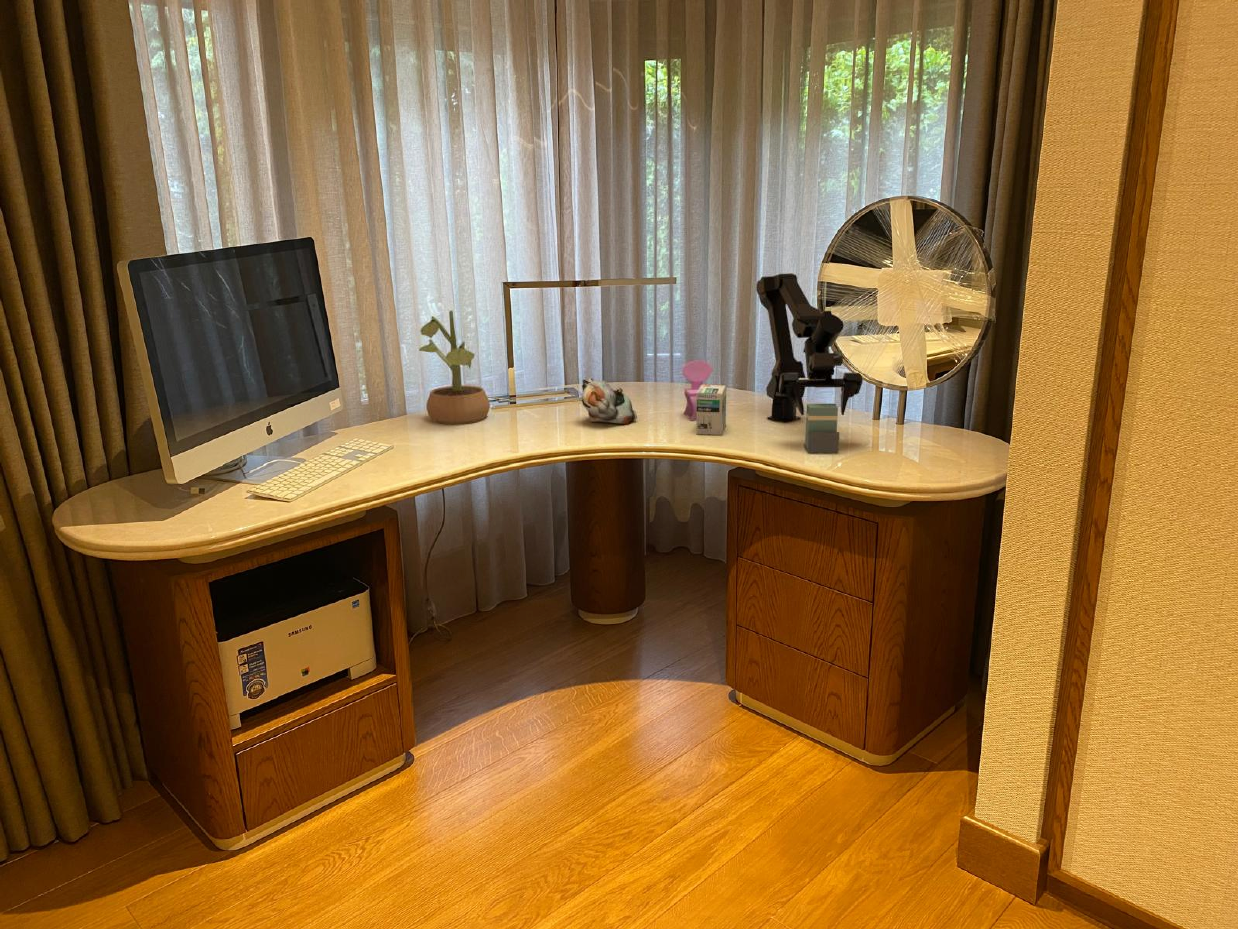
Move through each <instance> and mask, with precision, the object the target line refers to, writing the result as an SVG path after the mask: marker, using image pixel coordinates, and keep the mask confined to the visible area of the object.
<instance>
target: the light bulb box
mask: <svg viewBox="0 0 1238 929" xmlns="http://www.w3.org/2000/svg"><path fill="white" fill-rule="evenodd" d="M726 419H727V386H726V385H720V384H719V385H715V384H703V385H701V386H700V388H699V390H698V391H697V419H696V421H695V422H696V425H695V426H696V428H695V429H696V430H695V433H696V435H708V434H710V435H713V436H723V433H724V432H725V429H726V427H725V426H727V423H726V422H727V420H726Z"/></svg>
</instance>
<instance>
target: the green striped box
mask: <svg viewBox="0 0 1238 929" xmlns="http://www.w3.org/2000/svg"><path fill="white" fill-rule="evenodd" d="M838 415H839V407H838V406H837V404H836V403H806V417H805V421H806V422H805V438H804V440H805V441H804V444H805V446H806V448H807V447H808V432H838Z"/></svg>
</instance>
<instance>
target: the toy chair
mask: <svg viewBox="0 0 1238 929" xmlns="http://www.w3.org/2000/svg"><path fill="white" fill-rule="evenodd" d="M681 373H682V375H683V376H684V378H686V379H687V380H688V381H689V382H691V385H690V386H691V388H684V397H685V399H686V406H685V409H684V411H683V415H692V416H691V418H690V420H689V421H690V422H695V421H694V420H696V419H697V391H698V390H699V388H700V386H701V385H704V384H703V383H704V382H705V381H707V380H708V379H710V377H711V375H712V373H713V367H712V364H710V363H708V362H706V361H704V360H698V359H697V360H691V361H690V362H687V363H685V365H683V367H682V369H681Z"/></svg>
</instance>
